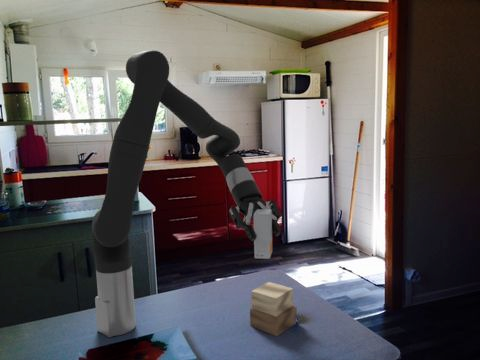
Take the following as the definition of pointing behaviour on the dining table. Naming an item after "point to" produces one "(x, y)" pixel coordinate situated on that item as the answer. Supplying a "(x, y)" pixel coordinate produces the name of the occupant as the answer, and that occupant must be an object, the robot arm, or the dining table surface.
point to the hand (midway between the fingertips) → (266, 236)
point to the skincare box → (263, 233)
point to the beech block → (272, 298)
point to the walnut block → (273, 320)
